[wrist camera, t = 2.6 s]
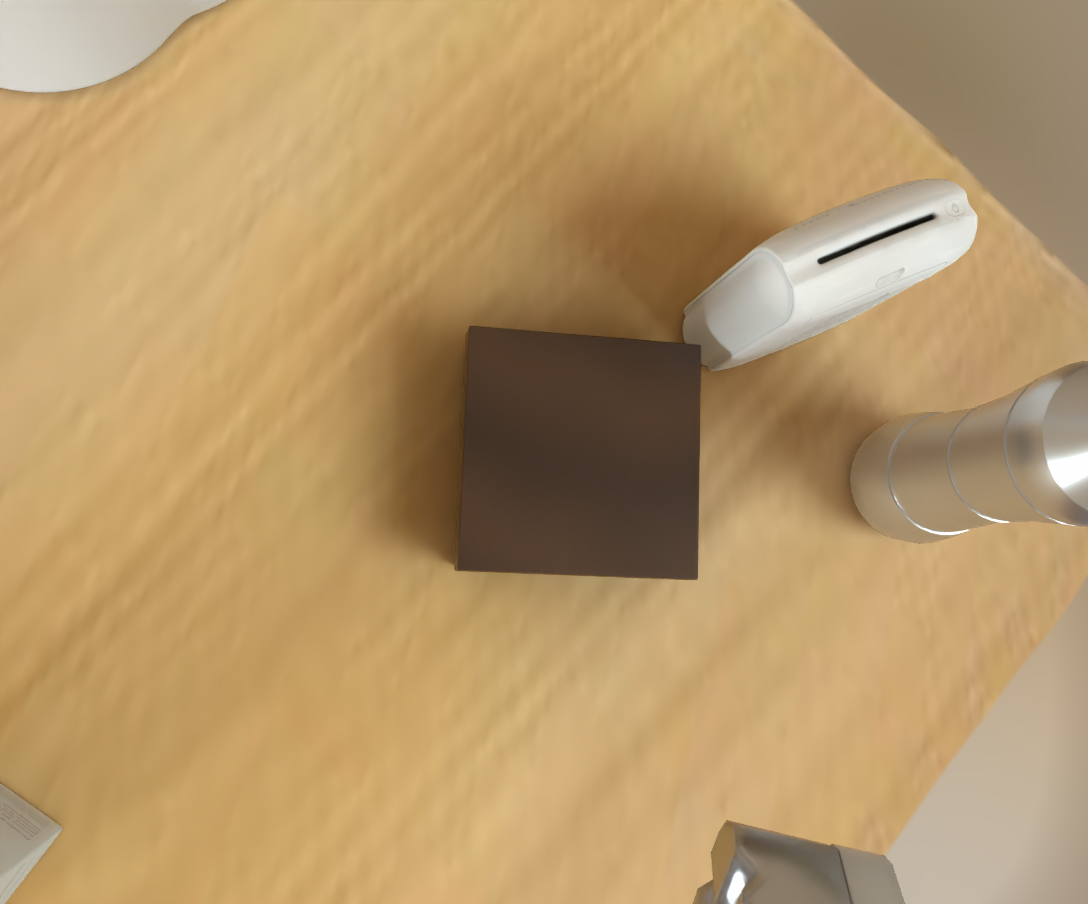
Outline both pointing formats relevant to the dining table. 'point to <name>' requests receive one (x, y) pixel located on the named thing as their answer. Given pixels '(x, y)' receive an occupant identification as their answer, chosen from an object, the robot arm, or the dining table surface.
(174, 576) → the dining table surface
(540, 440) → the walnut riser
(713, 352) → the photo printer
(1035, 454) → the aluminum water bottle
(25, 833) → the white packaging box
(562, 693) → the dining table surface
